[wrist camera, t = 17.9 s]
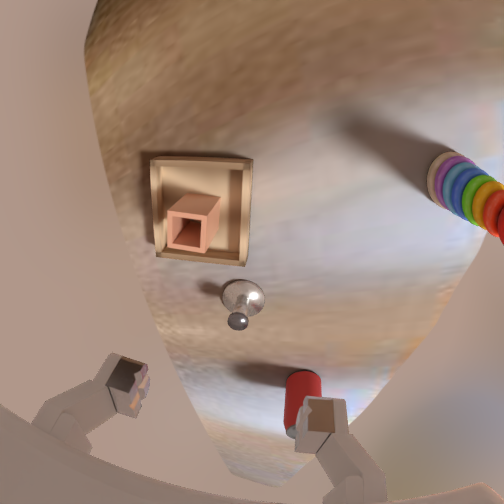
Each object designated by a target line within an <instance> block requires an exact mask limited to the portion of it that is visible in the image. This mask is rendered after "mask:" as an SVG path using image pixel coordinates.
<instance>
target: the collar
mask: <svg viewBox="0 0 504 504" xmlns="http://www.w3.org/2000/svg"><path fill="white" fill-rule="evenodd" d="M220 201H221V197H215V196H207V195H200V194H192V193H186V194H185V195H184V196H183V197H182V198H181V199H180V200H178V201H177V202H176V203H175V204H174V205H173V206H172V207H171V208H170V209H169V210H167V247H169V248H175V249H181V250H187V251H193V252H199V253H206V251H207V249H208V247H209V245H210V244H211V242H212V240H213V238H214V236H215V235H216V233H217V231H218V226H219V214H220ZM190 219H196V220H201V223H197V222H190Z"/></svg>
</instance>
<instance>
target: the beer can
mask: <svg viewBox="0 0 504 504" xmlns="http://www.w3.org/2000/svg"><path fill="white" fill-rule="evenodd" d="M306 396H315V397H322V394H321V379H320V377H319V376H318V375H317V374H315V373H313V372H310V371H299V372H296V373H294V374H292V375H290V376H289V378H288V379H287V381H286V394H285V409H284V426H285V429H286V434H287V435H288V436H289V437H290V438H292V439H295V438H296V436H297V434H298V431H297V430H296V419H297V415H298V411H299V409H300V407H302V406H303V400H304V398H305V397H306Z"/></svg>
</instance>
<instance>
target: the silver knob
mask: <svg viewBox="0 0 504 504" xmlns="http://www.w3.org/2000/svg"><path fill="white" fill-rule="evenodd" d="M223 303H224V305H225V307H226V308H227V309H228V310H229V311H230V312H232V314H230V316H229V318H228V325H229V326H230V327H231V328H232V329H234V330H244V329H245V328H247V326H248V318H247V317H249V316H253V315H256V314H257V313H259V312H260V311H261V310H262V308H263V307H264V303H265V295H264V293H263V291H262V289H261V288H260V287H259V286H258V285H256V284H255V283H253V282H251V281H247V280H237V281H234V282H232V283H230V284H229V285H228V286H227V287H226V288H225V290H224V293H223Z"/></svg>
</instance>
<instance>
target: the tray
mask: <svg viewBox="0 0 504 504" xmlns="http://www.w3.org/2000/svg"><path fill="white" fill-rule="evenodd" d="M252 173H253V160H252V159H237V158H218V157H191V156H158V157H156V158H153V159H151V160H150V180H151V199H152V214H153V228H154V239H155V250H156V257H162V258H170V259H179V260H188V261H197V262H206V263H215V264H224V265H233V266H242V267H245V265H246V262H247V258H248V248H249V229H250V210H251V191H252ZM186 193H192V194H200V195H207V196H215V197H221V201H220V214H219V226H218V231H217V233H216V235H215V236H214V238H213V240H212V242H211V244H210V245H209V247H208V249H207V251H206V253H199V252H193V251H187V250H181V249H175V248H169V247H167V210H169V209H170V208H171V207H172V206H173V205H174V204H175V203H176V202H177V201H178V200H180V199H181V198H182V197H183V196H184V195H185V194H186ZM190 222H197V223H201V220H196V219H190Z"/></svg>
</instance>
